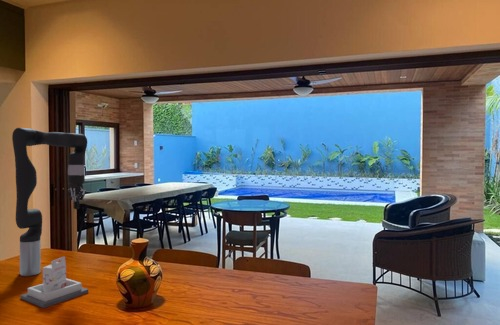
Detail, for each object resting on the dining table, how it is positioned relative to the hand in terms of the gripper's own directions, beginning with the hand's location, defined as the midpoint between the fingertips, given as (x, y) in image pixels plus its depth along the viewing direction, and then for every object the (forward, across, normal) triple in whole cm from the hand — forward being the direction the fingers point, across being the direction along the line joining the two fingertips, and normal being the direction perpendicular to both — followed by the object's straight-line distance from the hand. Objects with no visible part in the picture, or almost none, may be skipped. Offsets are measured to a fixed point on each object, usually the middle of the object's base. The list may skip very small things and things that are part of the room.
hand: (76, 209), depth 184 cm
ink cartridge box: (+33, +12, -18) cm, 40 cm away
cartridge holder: (+35, +12, -18) cm, 41 cm away
